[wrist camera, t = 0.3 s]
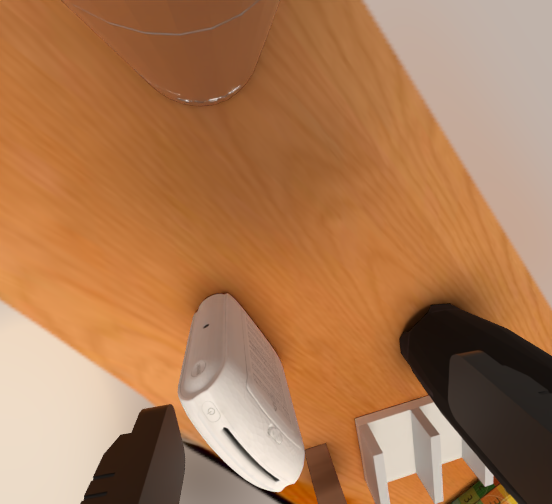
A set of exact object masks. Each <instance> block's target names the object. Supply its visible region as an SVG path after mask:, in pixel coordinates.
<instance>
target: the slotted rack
mask: <svg viewBox="0 0 552 504" xmlns="http://www.w3.org/2000/svg"><path fill="white" fill-rule="evenodd" d="M355 423H356V429H357V435H358V440H359V446H360V452H361V458H362V464H363V470H364V475H365V481H366V483H367V485H368V487H369V490H370V492H371V494H372V497H373V499H374V501H375V504H390V500H389V493H388V485H387V482H390V481H393V480H396V479H399V478H402V477H405V476H408V475H411V474H414V473H417V475H418V477H419V478H420V480H421V482H422V483H423V485H424V487H425V488H426V490H427V492H428V493H429V495H430V497H431V498H432V500H433V502H434V503H435V504H437V503H440V502H442V501H443V483H442V464H444V463H447V462H450V461H453V460H456V459H459V458H463V459H464V461H465V462H466V463H467V464H468V466H469V467H470V468H471V470H472V471H473V472H474V473H475V475H476V476H477V477H478V478H479V480H480V481H481V482H482V484H483V485H484V486H485V487H486V486H489V485H492V484H493V474H492V473H491V472H490V471H489V470H488V468H487V467H486V466H485V465H484V464H483V462H482V461H481V460H480V459H479V458H478V456H477V455H476V454H475V453H474V452H473V451H472V449H471V448H470V447H469V446H468V445H467V443H466V442H465V441H464V440H463V439H462V437H461V436H460V435H459V434H458V433H457V431H456V430H455V429H454V428H453V427H452V426H451V424H450V423H449V422H448V421H447V420H446V418H445V417H444V416H443V415H442V414H441V412H440V411H439V409H438V408H437V406H436V405H435V403H434V402H433V400H432V399H431V397H430V396H425V397H422V398H419V399H416V400H413V401H410V402H406V403H403V404H400V405H397V406H394V407H390V408H387V409H384V410H381V411H378V412H374V413H371V414H368V415H365V416H362V417H358V418H355Z"/></svg>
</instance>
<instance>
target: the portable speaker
mask: <svg viewBox="0 0 552 504" xmlns="http://www.w3.org/2000/svg"><path fill="white" fill-rule="evenodd" d="M400 348H401V354H402V355H403V357H404V358H405V360H406V361H407V362H408V364H409V365H410V366H411V369H412V371H413V373H414V374H415V376H416V377H417V378H418V380H419V381H420V383H421V384H422V386H423V387H424V389H425V390H426V392H427V393H428V395H429V396H430V397H431V399H432V400H433V402H434V403H435V405H436V406H437V408H438V409H439V411H440V412H441V414H442V415H443V416H444V417H445V418H446V420H447V421H448V422H449V423H450V424H451V426H452V427H453V428H454V429H455V430H456V431H457V433H458V434H459V435H460V436H461V437H462V439H463V440H464V441H465V442H466V443H467V445H468V446H469V447H470V448H471V449H472V451H473V452H474V453H475V454H476V455H477V456H478V458H479V459H480V460H481V461H482V462H483V464H484V465H485V466H486V467H487V468H488V470H489V471H490V472H491V473H492V474H493V475H494V477H495V478H496V479H497V480H498V481H499V483H500V484H501V485H502V486H503V487H504V488H505V489H506V491H507V492H508V493H509V494H510V495H511V496H512V497H513V498H514V500H515V501H516V502H517V503H518V504H527V503H526V501H525V500H524V499H523V498H522V497H521V496H520V494H519V493H518V492H517V491H516V490H515V489H514V487H513V486H512V485H511V484H510V483H509V482H508V480H507V479H506V478H505V477H504V476H503V475H502V473H501V472H500V471H499V470H498V469H497V468H496V466H495V465H494V464H493V463H492V462H491V461H490V459H489V458H488V457H487V456H486V455H485V454H484V453H483V451H482V450H481V449H480V448H479V447H478V446H477V444H476V443H475V442H474V441H473V440H472V439H471V437H470V436H469V435H468V434H467V433H466V432H465V430H464V429H463V428H462V427H461V426H460V425H459V423H458V422H457V421H456V419H455V418H454V416H453V414H452V412H451V409H450V407H449V403H448V386H449V365H450V358H451V356H453V355H455V354H461V353H466V352H472V351H483V352H484V353H486V354H487V355H489V356H490V357H491V358H493V359H494V360H495V361H497V362H498V363H499V364H501V365H502V366H504V365H505V366H508V367H510V368H512V369H514V370H516V371H518V372H521V373H523V374H525V375H527V376H529V377H530V378H532V379H533V380H535V381H536V382H537V383H539V384H540V385H541V386H543V387H544V388H546V389H547V390H548V392H549V393H550V394H551V393H552V356H551V355H549V354H548V353H546V352H544V351H543V350H541V349H540V348H538V347H536V346H535V345H533V344H531V343H530V342H528V341H526V340H525V339H523V338H522V337H520V336H518V335H517V334H515V333H513V332H512V331H510V330H509V329H507V328H504V327H502V326H499V325H497V324H495V323H492V322H490V321H487V320H485V319H483V318H480V317H478V316H475V315H473V314H471V313H468V312H466V311H463V310H461V309H459V308H457V307H455V306H453V305H451V304H450V303H449V304H438V305H431V307H430V309H429V312H428V313H427V314H426V315H425V316H424V317H423V318H422V319H421V320H420V321H419V322H418V323H417V324H416V325H415V326H414V327H413V328H412V329H411V330H410V331H409V332H403V334H402V336H401V337H400Z"/></svg>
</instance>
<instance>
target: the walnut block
mask: <svg viewBox="0 0 552 504" xmlns="http://www.w3.org/2000/svg"><path fill="white" fill-rule="evenodd" d="M304 451H305V455H306V459H307V463H308V467H309V471H310V475H311V479H312V483H313V486H314V490H315V494H316V497H317V501H318V504H347V503H346V500H345V497H344V494H343V491H342V489H341V486H340V483H339V480H338V477H337V474H336V471H335V469H334V466H333V463H332V460H331V457H330V454H329V452H328V449H327V446H326V443H325V444H322V445H319V446H315V447H312V448H309V449H306V450H304Z"/></svg>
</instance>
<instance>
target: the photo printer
mask: <svg viewBox="0 0 552 504" xmlns="http://www.w3.org/2000/svg"><path fill="white" fill-rule="evenodd" d="M178 396H179V399H180V401H181V404H182V406H183V408H184V410H185V412H186V414H187V416H188V417H189V419H190V420H191V422H192V423H193V425H194V426H195V428H196V429H197V430H198V432H199V433H200V434H201V436H202V437H203V438H204V440H205V441H206V442H207V443H208V444H209V445H210V447H211V448H212V449H213V450H214V451H215V452H216V453H217V454H218V455H219V457H220V458H221V459H222V460H224V461H225V462H226V464H227V465H229V466H230V467H231V468H232V469H233V470H234V471H235V472H237V473H238V474H239V475H240V476H242V477H243V478H244V479H246V480H247V481H249V482H250V483H252V484H254V485H256V486H258V487H260V488H262V489H265V490H269V491H274V492H280V491H282V490H283V488H284V487H286V486H287V485H290V484H294V483H295V482H296V481H297V479H298V478H299V476H300V473H301V471H302V468H303V465H304V458H305V451H304V445H303V441H302V437H301V434H300V430H299V426H298V422H297V419H296V415H295V411H294V408H293V404H292V400H291V396H290V393H289V389H288V385H287V381H286V377H285V373H284V370H283V366H282V364H281V361H280V359H279V357H278V355H277V354H276V352H275V350H274V349H273V348H272V346H271V345H270V343H269V342H268V341H267V339H266V338H265V337H264V335H263V334H262V333H261V331H260V330H259V328H258V327H257V326H256V325H255V323H254V322H253V321H252V319H251V318H250V317H249V316H248V314H247V313H246V312H245V310H244V309H243V308H242V307H241V306H240V304H239V303H238V302H237V301H236V300H235V299H234V298H233V297H232V296H231V295H230V294H228V293H226V294H215V295H212V296H210V297H208V298H206V299H205V300H204V301H203V302H202V303H201V305H200V306H199V309H198V312H196V313H195V314H194V316H193V319H192V323H191V328H190V332H189V337H188V342H187V347H186V352H185V356H184V360H183V365H182V370H181V375H180V380H179V385H178Z"/></svg>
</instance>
